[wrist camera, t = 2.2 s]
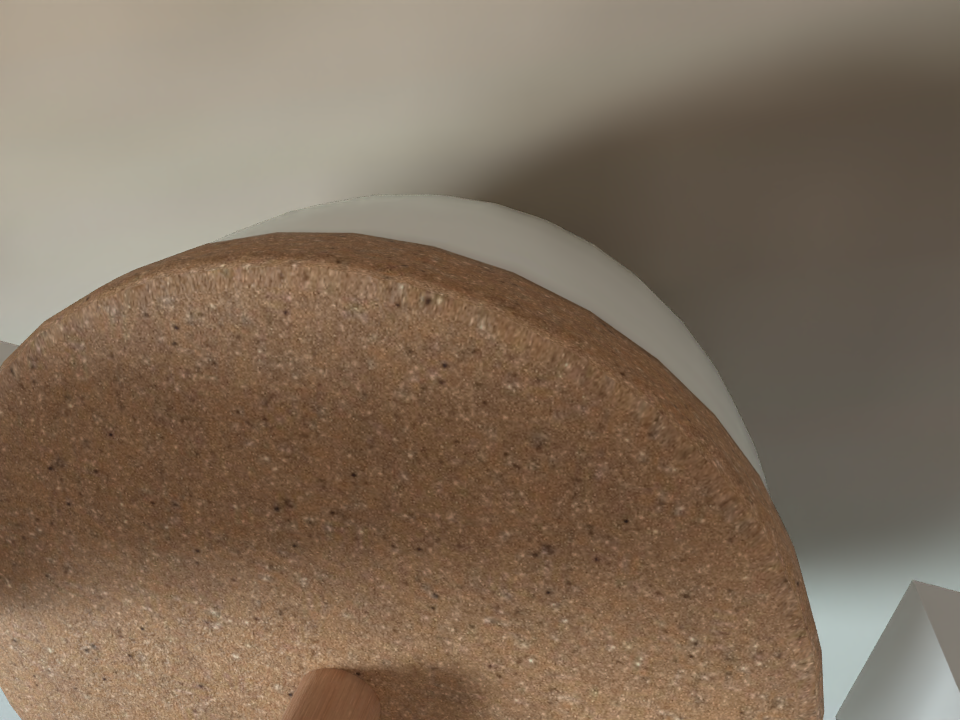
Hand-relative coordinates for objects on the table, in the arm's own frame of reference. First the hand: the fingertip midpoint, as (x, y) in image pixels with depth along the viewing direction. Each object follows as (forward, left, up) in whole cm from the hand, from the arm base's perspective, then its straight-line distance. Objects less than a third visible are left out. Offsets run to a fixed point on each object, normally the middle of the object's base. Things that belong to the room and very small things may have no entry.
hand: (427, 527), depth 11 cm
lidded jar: (0, 0, -5) cm, 5 cm away
